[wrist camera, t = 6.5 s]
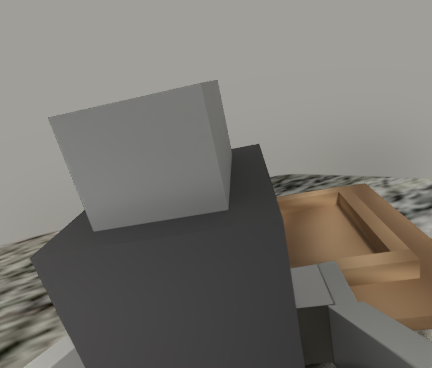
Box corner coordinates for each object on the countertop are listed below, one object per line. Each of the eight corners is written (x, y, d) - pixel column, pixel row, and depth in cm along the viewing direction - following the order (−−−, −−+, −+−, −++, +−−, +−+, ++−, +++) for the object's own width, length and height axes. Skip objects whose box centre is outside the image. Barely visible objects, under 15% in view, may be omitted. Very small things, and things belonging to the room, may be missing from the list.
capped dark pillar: (300, 395, 12) (247, 73, 8) (337, 582, 8) (261, 69, 3) (208, 402, 13) (111, 103, 8) (192, 580, 8) (-32, 135, 4)
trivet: (365, 190, 28) (364, 171, 27) (510, 320, 13) (516, 285, 13) (206, 216, 30) (202, 199, 30) (176, 353, 15) (166, 324, 15)
